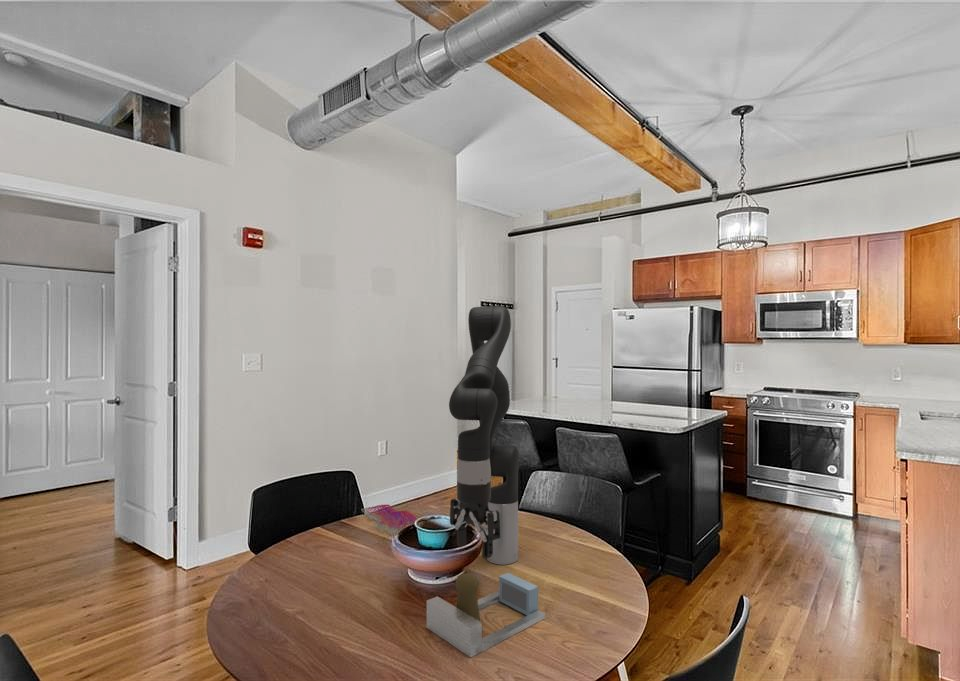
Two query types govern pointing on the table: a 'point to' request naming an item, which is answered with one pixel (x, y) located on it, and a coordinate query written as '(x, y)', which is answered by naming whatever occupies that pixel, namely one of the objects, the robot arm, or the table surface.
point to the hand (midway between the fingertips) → (474, 551)
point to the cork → (467, 594)
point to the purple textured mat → (389, 517)
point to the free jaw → (518, 593)
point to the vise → (471, 625)
